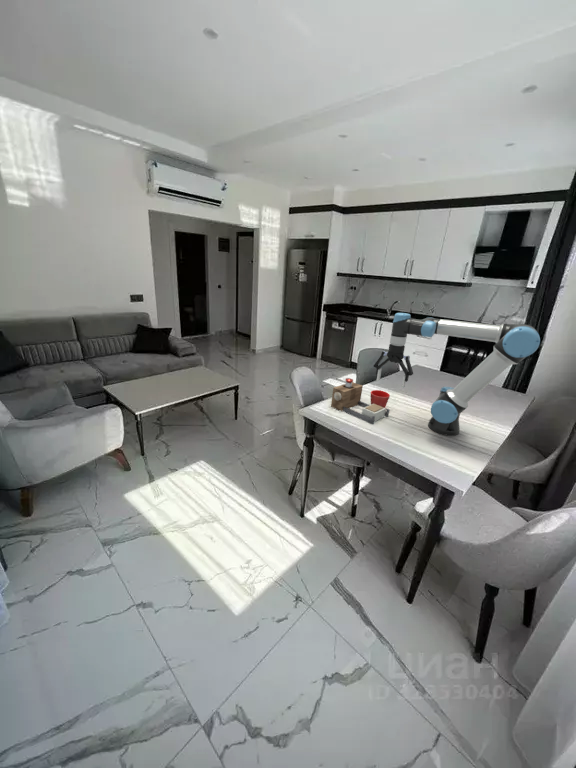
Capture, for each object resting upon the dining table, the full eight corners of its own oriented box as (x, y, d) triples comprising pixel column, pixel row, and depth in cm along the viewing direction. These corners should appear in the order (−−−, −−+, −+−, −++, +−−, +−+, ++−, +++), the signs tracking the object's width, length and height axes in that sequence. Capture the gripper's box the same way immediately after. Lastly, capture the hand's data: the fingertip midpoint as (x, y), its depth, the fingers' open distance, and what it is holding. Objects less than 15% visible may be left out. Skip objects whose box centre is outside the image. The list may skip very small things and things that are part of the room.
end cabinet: (359, 404, 191) (362, 385, 187) (341, 411, 179) (344, 392, 175) (349, 399, 197) (351, 381, 192) (330, 406, 184) (332, 387, 180)
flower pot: (382, 414, 180) (386, 398, 177) (365, 408, 186) (367, 393, 183) (389, 408, 188) (392, 393, 185) (372, 403, 194) (375, 388, 191)
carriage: (384, 416, 176) (386, 407, 174) (373, 421, 169) (375, 412, 167) (372, 411, 181) (373, 402, 180) (361, 416, 174) (362, 407, 172)
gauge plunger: (352, 392, 185) (354, 379, 182) (348, 394, 182) (350, 381, 179) (346, 390, 188) (348, 377, 185) (342, 391, 185) (344, 379, 182)
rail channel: (388, 416, 177) (389, 409, 176) (372, 424, 167) (373, 417, 165) (358, 404, 191) (359, 397, 189) (342, 410, 180) (343, 403, 178)
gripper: (424, 347, 154) (416, 388, 161) (376, 339, 168) (371, 376, 175) (420, 350, 148) (411, 391, 155) (371, 341, 162) (365, 379, 169)
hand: (390, 383), depth 165 cm, fingers open, 13 cm apart
